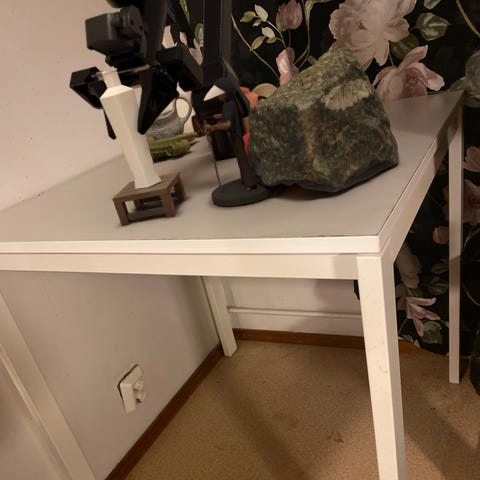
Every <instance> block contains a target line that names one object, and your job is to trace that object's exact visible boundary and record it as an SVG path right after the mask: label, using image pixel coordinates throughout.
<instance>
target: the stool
mask: <svg viewBox="0 0 480 480" xmlns="http://www.w3.org/2000/svg"><path fill="white" fill-rule="evenodd" d="M158 176H159V177H160V179H161V181H160V182H158V183H156V184H154V185H152V186H150V187H146V188H137V189H135V182H134V180H131V181H129V182H128V183H127V184H126V185H125V186H124V187H122V189H120V191H118V192H117V194H115V195H114V196H113V197H112V198H111V200H112V202H113V205H114V208H115V211H116V214H117V216H118V219H119V222H120V226H128V225H130V224H131V223H132V220H135V219H141V218H145V217H146V218H147V217H151V216H156V215H163V214H165V217H166V219H167V218H172V217H175V216H176V215H177V211H176V207H175V204H174V201H173V199H174V198H175V199H176V201H177V202H178V203H179V202H184V201H186V200H187V194H186V191H185V186H184V183H183V179H182V176H181V172H179V171H178V172H173V173H172V172H171V173H168V174H163V175H158ZM172 190H174V191H172ZM160 201H161V204H162V206H158V207H152V208H147V209H144V208H145V206H146V204H149V203H155V202H160ZM127 202H133V205H134V208H135V210H136V211H130V212H129V210H128V207H127V204H126V203H127ZM140 209H141V210H140Z"/></svg>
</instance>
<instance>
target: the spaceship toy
mask: <svg viewBox="0 0 480 480" xmlns="http://www.w3.org/2000/svg"><path fill="white" fill-rule="evenodd" d="M197 137H198V134H197V133H196V132H194V131H191V132H185V133H183V134H179V135H174V136H170V137H165V138H161V139H157V140H154V139H153V138H152V137H149V138H147V141H148V145H149V149H150V153H151V156H153V157H154V158H155V159H156V160H159V159H161V158H164V157H169V156H170V157H172V156H180V154H186V153H187V152H190V150H191V143H193V142H194V141H196V138H197Z"/></svg>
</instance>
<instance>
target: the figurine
mask: <svg viewBox="0 0 480 480" xmlns="http://www.w3.org/2000/svg"><path fill="white" fill-rule="evenodd" d="M215 96H218V97H219V99H220V100H221V101H225V103H224V104H223V106H222V120H221V121H219V122H218V123H217V124H216V125H213V126H211V125H207V122H206V120H204V129H205V130H204V134H205V136H206V140H207V142H208V147H209V150H210V153H211V154H210V155H211V158H212V163H213V167H214V170H215V174H216V175H215V176H216V178H217V183H218V187H216V188H214V189H213V190H212V191H211V193H210V196H211V200H212V203H213V204H214V205H217V206H221V207H229V206H230V207H233V206H241V205H247V204H251V203H256V202H258V201H262V200H264V199H267V198H269V197H271V196H273V195H275V194H277V193H279V192H280V191H281V190H282V188H283V183H280V184H278V185H276V186H265V185H262V184H260V183H259V182H258V181H256V179H255V177H254V175H253V173H252V171H251V167H250V164H249V161H248V157H247V153H246V151H245V147H244V146H245V143H244V139H243V135H242V131H241V127H240V122H239V117H238V110H237V107H236V104H235V101H234V87H233V83H232V81H231V80H230V79H229V78H225V77H224V78H220V79H218V80H217V81H216V82H215V83H214V86H213V87H212V88H211V89H210V91H209V92H208V93H207V95H206V96H205V98H204V101H206V100H208V99H211V98H213V97H215ZM210 129H211V130H210ZM218 129H222V130H225V131H226V132H227V138H228V140H230V143H231V146H232V148H233V150H234V152H235V155H236V156H235V158H236V162H237V165H238V169H239V174H240V177H239V178H237V179H233V180H230V181H228V182H227V181H226V183H223V184H221V177H220V174H219V170H218V166H217V160H215V156H214V153H213V148H212V143H211V142H212V139H211V137H210V134H211V133H212V132H213V131H216V130H218Z"/></svg>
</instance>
